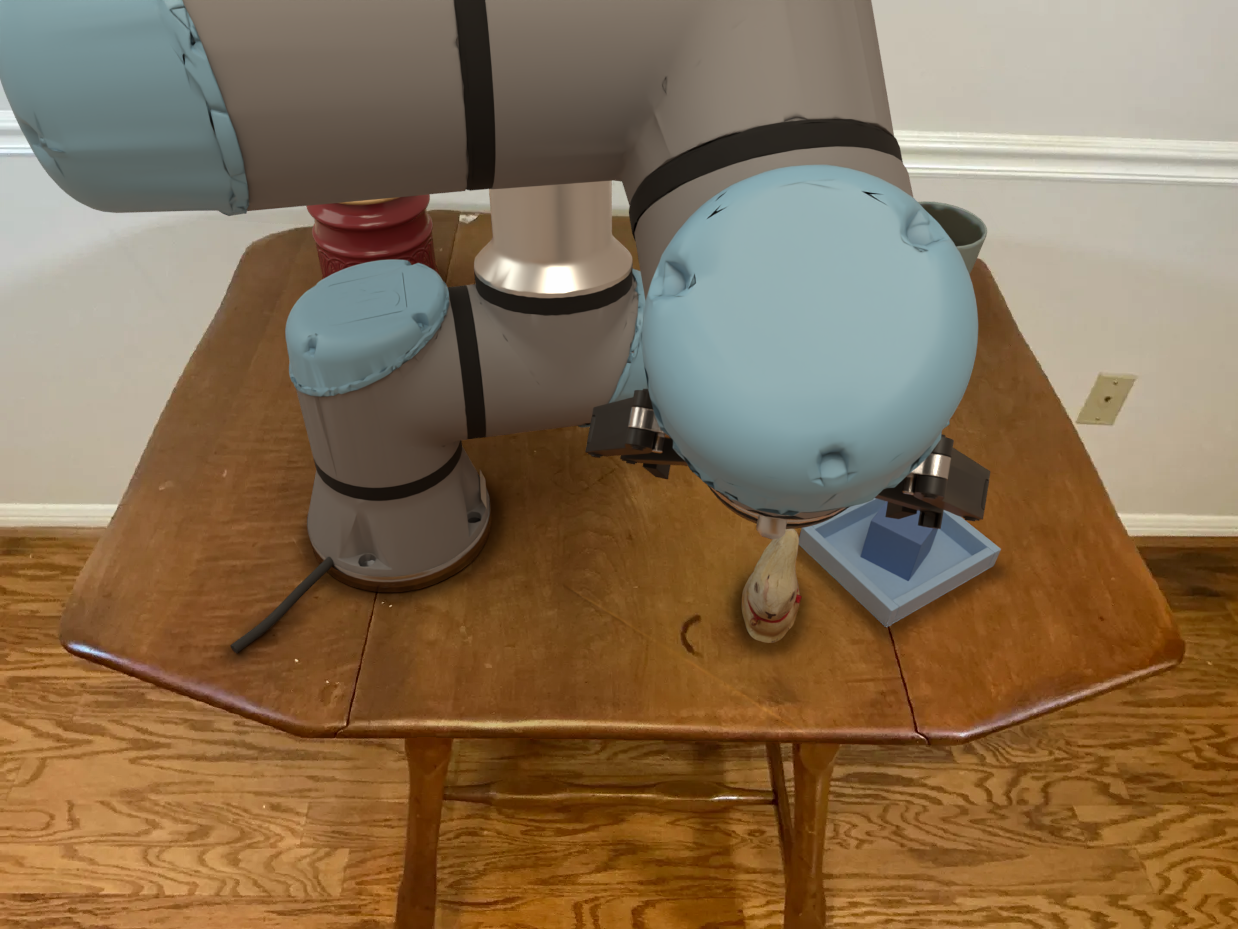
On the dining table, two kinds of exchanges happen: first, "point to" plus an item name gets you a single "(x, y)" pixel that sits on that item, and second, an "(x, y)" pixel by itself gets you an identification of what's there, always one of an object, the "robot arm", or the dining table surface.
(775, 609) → the chocolate bunny
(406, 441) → the robot arm
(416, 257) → the kitchen canister
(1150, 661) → the dining table surface
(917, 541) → the slate-blue block
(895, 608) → the blue tray
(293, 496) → the dining table surface
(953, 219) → the drinking glass
